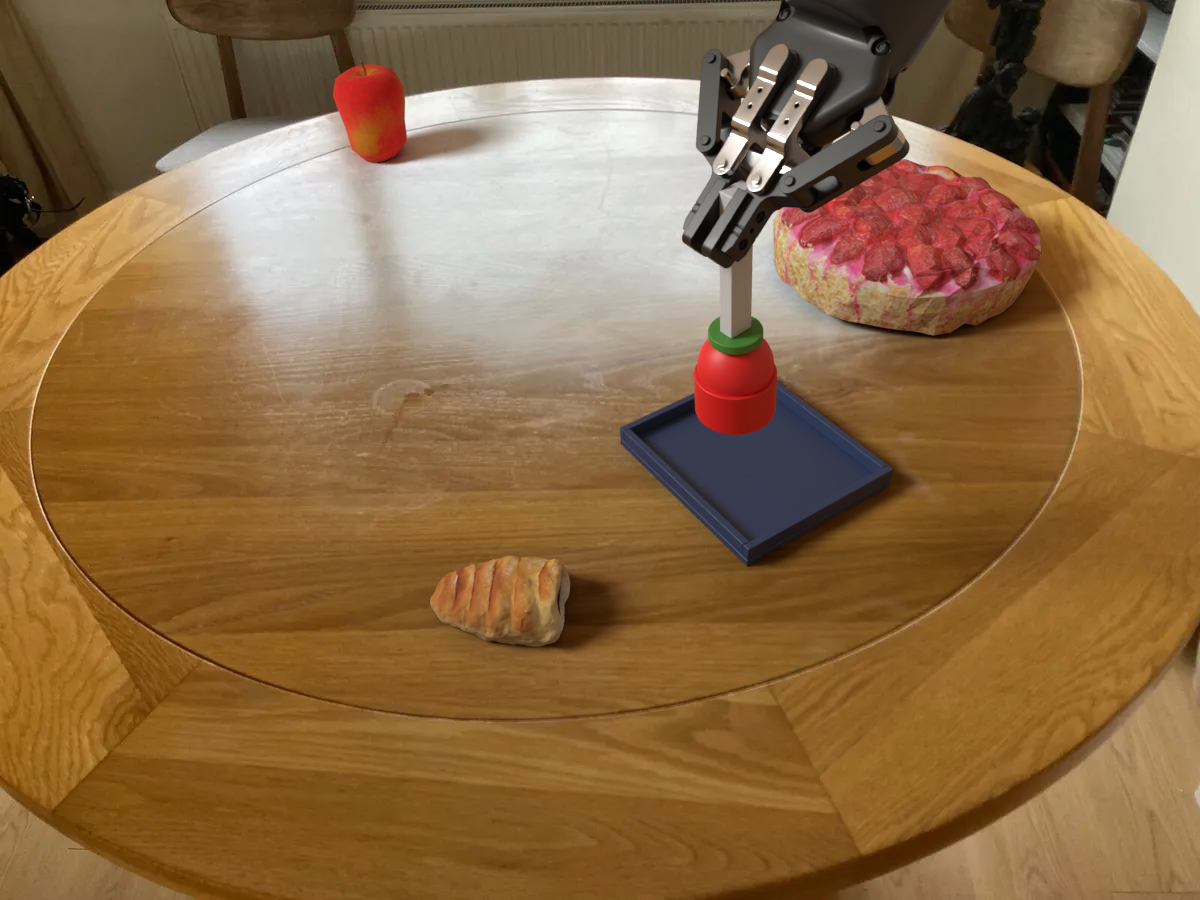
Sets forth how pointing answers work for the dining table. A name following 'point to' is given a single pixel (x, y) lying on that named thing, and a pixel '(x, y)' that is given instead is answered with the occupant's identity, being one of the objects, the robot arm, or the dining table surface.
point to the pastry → (506, 600)
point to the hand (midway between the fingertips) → (704, 254)
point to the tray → (757, 472)
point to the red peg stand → (735, 355)
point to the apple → (372, 110)
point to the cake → (910, 250)
